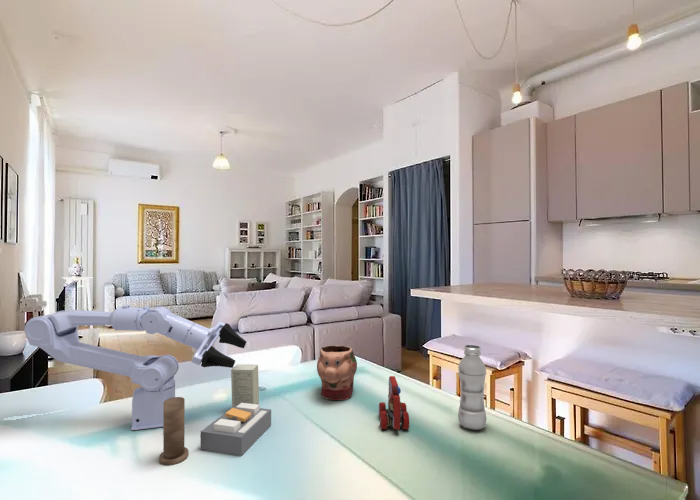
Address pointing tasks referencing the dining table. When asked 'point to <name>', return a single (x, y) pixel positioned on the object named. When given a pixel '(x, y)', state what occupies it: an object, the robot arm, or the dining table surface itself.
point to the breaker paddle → (238, 415)
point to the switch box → (236, 431)
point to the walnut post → (173, 432)
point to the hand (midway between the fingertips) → (239, 354)
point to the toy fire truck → (393, 408)
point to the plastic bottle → (472, 389)
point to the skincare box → (245, 384)
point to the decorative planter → (336, 371)
